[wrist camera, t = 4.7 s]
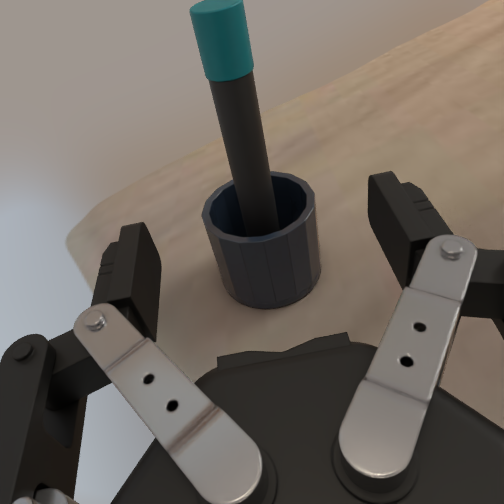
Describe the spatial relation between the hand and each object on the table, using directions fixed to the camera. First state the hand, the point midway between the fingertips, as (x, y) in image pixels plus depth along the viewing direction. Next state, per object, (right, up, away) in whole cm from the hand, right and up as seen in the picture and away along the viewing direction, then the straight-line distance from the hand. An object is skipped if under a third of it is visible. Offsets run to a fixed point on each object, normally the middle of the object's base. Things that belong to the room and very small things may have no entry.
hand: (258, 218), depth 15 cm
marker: (+1, -2, +15) cm, 15 cm away
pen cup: (+1, -2, +15) cm, 15 cm away
